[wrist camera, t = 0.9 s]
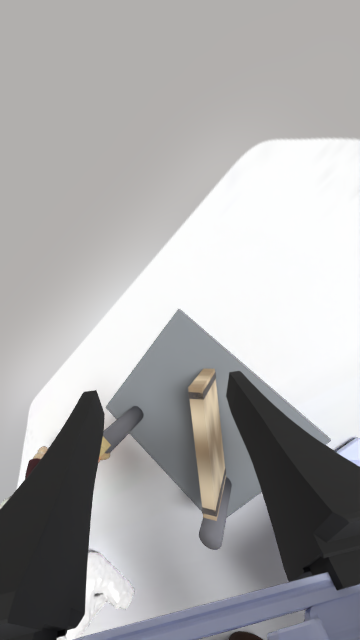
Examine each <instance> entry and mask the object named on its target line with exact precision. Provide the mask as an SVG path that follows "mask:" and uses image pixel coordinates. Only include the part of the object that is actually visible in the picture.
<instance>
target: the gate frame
mask: <svg viewBox="0 0 360 640" xmlns="http://www.w3.org/2000/svg"><path fill="white" fill-rule="evenodd" d="M203 369H215V372H216V386H217V395H218V405H219V414H220V424H221V433H222V443H223V452H224V461H225V468H226V479H225V484H224V489H223V494H222V498H221V503H220V508H219V513H218V517H217V521H215V520H211V519H207V518H203V521H202V524H201V528H200V532H199V537H200V540H201V541H202V543H203V544H204V545H205V546H206V547H208V548H210V549H213V550H217V549H219V548H220V547H221V545H222V540H223V534H224V528H225V522H226V518H227V517H228V516H230V515H231V514H232V513H234V512H235V511H236V510H238V509H239V508H240V507H242V506H243V505H245V504H246V503H247V502H249V501H250V500H251V499H253V498H254V497H255V496H257V495H258V494H259V493H261V492H262V491H261V487H260V484H259V481H258V478H257V475H256V472H255V469H254V466H253V463H252V461H251V458H250V456H249V453H248V451H247V449H246V446H245V444H244V442H243V439H242V437H241V435H240V433H239V430H238V428H237V426H236V423H235V421H234V419H233V416H232V414H231V411H230V408H229V404H228V401H227V398H226V393H227V386H228V379H229V372H234V371H241V372H242V373H243V374H244V375H245V376H246V377H247V378H248V380H249V381H250V382H251V383H252V384H253V385H254V386H255V387H256V388H257V389H258V390H259V391H260V392H261V393H262V394H263V395H264V396H265V397H266V398H267V399H268V400H269V401H271V402H272V403H273V404H274V405H275V406H276V407H277V408H278V409H279V410H280V411H282V412H283V413H284V414H285V415H286V416H287V417H288V418H290V419H291V420H292V421H293V422H295V423H296V424H297V425H298V426H300V427H301V428H302V429H303V430H305V431H306V432H307V433H309V434H310V435H312V436H313V437H314V438H316V439H317V440H319V441H320V442H322V443H323V444H325V445H326V444H327V443H329V442H330V441H331V439H330V438H329V437H328V436H327V435H325V434H324V433H323V432H322V431H321V430H320V429H318V428H317V427H316V426H315V425H314V424H313V423H312V422H310V421H309V420H308V419H307V418H306V417H305V416H303V415H302V414H301V413H300V412H299V411H298V410H296V409H295V408H294V407H293V406H292V405H291V404H289V403H288V402H287V401H286V400H285V399H284V398H282V397H281V396H280V395H279V394H278V393H277V392H276V391H274V390H273V389H272V388H271V387H270V386H269V385H267V384H266V383H265V382H264V381H263V380H262V379H260V378H259V377H258V376H257V375H256V374H255V373H253V372H252V371H251V370H250V369H249V368H248V367H246V366H245V365H244V364H243V363H242V362H241V361H240V360H238V359H237V358H236V357H235V356H234V355H233V354H231V353H230V352H229V351H228V350H227V349H226V348H224V347H223V346H222V345H221V344H220V343H219V342H217V341H216V340H215V339H214V338H213V337H212V336H211V335H209V334H208V333H207V332H206V331H205V330H204V329H202V328H201V327H200V326H199V325H198V324H197V323H195V322H194V321H193V320H192V319H191V318H190V317H188V316H187V315H186V314H185V313H184V312H183V311H181V310H180V309H178V310H177V312H176V313H175V314H174V316H173V317H172V319H171V320H170V321H169V323H168V324H167V325H166V327H165V328H164V329H163V331H162V332H161V333H160V335H159V336H158V337H157V339H156V340H155V341H154V343H153V344H152V345H151V347H150V348H149V350H148V351H147V352H146V354H145V355H144V356H143V358H142V359H141V360H140V362H139V363H138V364H137V366H136V367H135V368H134V370H133V371H132V372H131V374H130V375H129V376H128V378H127V379H126V381H125V382H124V383H123V385H122V386H121V387H120V389H119V390H118V391H117V393H116V394H115V395H114V397H113V398H112V399H111V401H110V402H109V403H108V405H107V406H106V408H107V409H108V410H109V412H110V413H111V414H112V415H113V416H114V417H115V418H116V419H117V420H116V421H115V422H114V423H113V424H112V425H110V426H109V427H108V428H107V429H106V430H105V431H103V438H102V444H101V450H100V455H99V457H101V456H102V455H103V454H104V453H106V454H108V453H110V452H111V451H112V450H113V449H114V448H115V447H116V446H117V445H118V444H119V443H120V442H121V441H122V440H123V439H124V438H125V437H126V436H127V435H128V434H129V433H130V434H131V435H132V436H133V438H134V439H135V440H136V441H137V442H138V443H139V444H140V445H141V446H142V447H143V448H144V449H145V451H146V452H147V453H148V454H149V455H150V456H151V457H152V458H153V459H154V460H155V461H156V462H157V464H158V465H159V466H160V467H161V468H162V469H163V470H164V471H165V472H166V473H167V474H168V475H169V477H170V478H171V479H172V480H173V481H174V482H175V483H176V484H177V485H178V486H179V487H180V488H181V489H182V491H183V492H184V493H185V494H186V495H187V496H188V497H189V498H190V499H191V500H192V501H193V502H194V504H195V505H196V506H197V507H198V508H199V509H200V510H201V511H202V501H201V493H200V484H199V476H198V467H197V458H196V450H195V441H194V433H193V424H192V415H191V407H190V399H189V394H188V392H189V390H188V387H189V386H190V385H191V383H192V382H193V381H194V380H195V378H196V377H197V376H198V375H199V374H200V372H201V371H202V370H203Z"/></svg>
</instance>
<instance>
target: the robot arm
mask: <svg viewBox="0 0 360 640" xmlns="http://www.w3.org/2000/svg"><path fill="white" fill-rule="evenodd" d="M226 398H227V401H228V404H229V408H230V411H231V414H232V416H233V419H234V421H235V423H236V426H237V428H238V430H239V433H240V435H241V437H242V439H243V442H244V444H245V446H246V449H247V451H248V453H249V456H250V458H251V461H252V463H253V466H254V469H255V472H256V475H257V478H258V481H259V484H260V487H261V491H262V494H263V497H264V500H265V503H266V506H267V510H268V513H269V516H270V520H271V523H272V526H273V530H274V533H275V537H276V541H277V544H278V548H279V551H280V555H281V559H282V563H283V566H284V570H285V572H286V575H287V578H288V580H289V582H288V583H284V584H280V585H276V586H273V587H269V588H265V589H261V590H257V591H254V592H250V593H246V594H242V595H238V596H235V597H231V598H227V599H223V600H220V601H216V602H212V603H208V604H204V605H201V606H197V607H193V608H189V609H185V610H182V611H178V612H174V613H170V614H167V615H163V616H159V617H155V618H151V619H148V620H144V621H140V622H136V623H132V624H129V625H125V626H121V627H117V628H114V629H110V630H106V631H102V632H98V633H95V634H91V635H87V636H83V637H79V638H76V639H72V640H199V639H202V638H206V637H209V636H213V635H216V634H220V633H223V632H227V631H230V630H234V629H237V628H241V627H245V626H248V625H252V624H255V623H259V622H262V621H266V620H269V619H273V618H276V617H280V616H283V615H287V614H290V613H294V612H298V611H301V610H305V609H307V610H306V611H305V621H304V622H302V623H299V624H296V625H292V626H289V627H286V628H282V629H279V630H277V631H274V632H271V633H268V635H267V639H268V640H360V438H355V439H353V440H352V441H351V442H349V443H348V444H346V445H345V446H344V447H342V448H341V449H339V450H338V451H337V452H335V451H334V450H332V449H331V448H329V447H328V446H326V445H325V444H323V443H322V442H320V441H319V440H317V439H316V438H314V437H313V436H312V435H310V434H309V433H307V432H306V431H305V430H303V429H302V428H301V427H300V426H298V425H297V424H296V423H295V422H293V421H292V420H291V419H290V418H288V417H287V416H286V415H285V414H284V413H283V412H282V411H280V410H279V409H278V408H277V407H276V406H275V405H274V404H273V403H272V402H271V401H269V400H268V399H267V398H266V397H265V396H264V395H263V394H262V393H261V392H260V391H259V390H258V389H257V388H256V387H255V386H254V385H253V384H252V383H251V382H250V381H249V380H248V378H247V377H246V376H245V375H244V374H243V373H242V372H241V371H234V372H229V379H228V386H227V393H226ZM103 430H104V411H103V408H102V406H101V403H100V400H99V397H98V394H97V391H96V390H95V391H88V392H84V393H83V394H82V396H81V397H80V399H79V401H78V403H77V405H76V406H75V408H74V410H73V411H72V413H71V415H70V416H69V418H68V420H67V421H66V423H65V424H64V426H63V428H62V429H61V431H60V432H59V434H58V435H57V437H56V438H55V440H54V441H53V443H52V444H51V446H50V447H49V449H48V450H47V451H46V453H45V454H44V456H43V457H42V458H41V460H40V461H39V463H38V464H37V465H36V466H35V468H34V469H33V470H32V472H31V473H30V474H29V475H28V477H27V478H26V479H25V480H24V482H23V483H22V484H21V485H20V486H19V488H18V489H17V490H16V491H15V492H14V494H13V495H12V496H11V497H10V498H9V500H8V501H7V502H6V503H5V504H4V505H3V506H2V508H1V509H0V640H57V638H58V637H62V636H66V634H67V630H70V629H74V628H76V627H77V626H78V625H79V623H80V622H81V620H82V618H83V617H84V615H85V600H86V579H87V562H88V546H89V533H90V520H91V509H92V499H93V490H94V483H95V477H96V472H97V466H98V461H99V455H100V450H101V444H102V438H103Z"/></svg>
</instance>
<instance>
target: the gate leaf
mask: <svg viewBox="0 0 360 640" xmlns="http://www.w3.org/2000/svg"><path fill="white" fill-rule="evenodd" d="M188 390H189V392H188V394H189V399H190V407H191V415H192V424H193V433H194V441H195V450H196V458H197V467H198V476H199V484H200V493H201V501H202V513H203V518H207V519H211V520H215V521H217V517H218V513H219V508H220V503H221V498H222V494H223V489H224V484H225V479H226V468H225V461H224V452H223V443H222V433H221V424H220V414H219V405H218V395H217V386H216V372H215V369H203V370H202V371H201V372H200V374H199V375H198V376H197V377H196V378H195V380H194V381H193V382H192V383H191V385H190V386H189V387H188Z"/></svg>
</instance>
